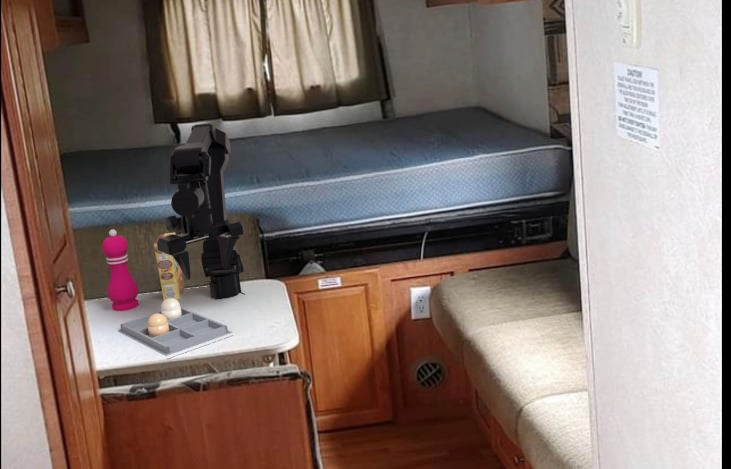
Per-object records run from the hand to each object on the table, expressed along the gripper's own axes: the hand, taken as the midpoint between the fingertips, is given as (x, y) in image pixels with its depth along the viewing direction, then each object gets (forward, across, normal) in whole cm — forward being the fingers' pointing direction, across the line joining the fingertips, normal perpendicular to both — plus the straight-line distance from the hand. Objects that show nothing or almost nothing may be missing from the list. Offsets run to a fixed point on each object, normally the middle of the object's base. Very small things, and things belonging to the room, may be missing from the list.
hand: (206, 273), depth 210 cm
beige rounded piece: (+11, +12, -2) cm, 17 cm away
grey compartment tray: (+12, +9, -2) cm, 15 cm away
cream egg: (+11, +6, -9) cm, 15 cm away
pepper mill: (+12, +8, -28) cm, 32 cm away
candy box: (+12, -4, -26) cm, 29 cm away
